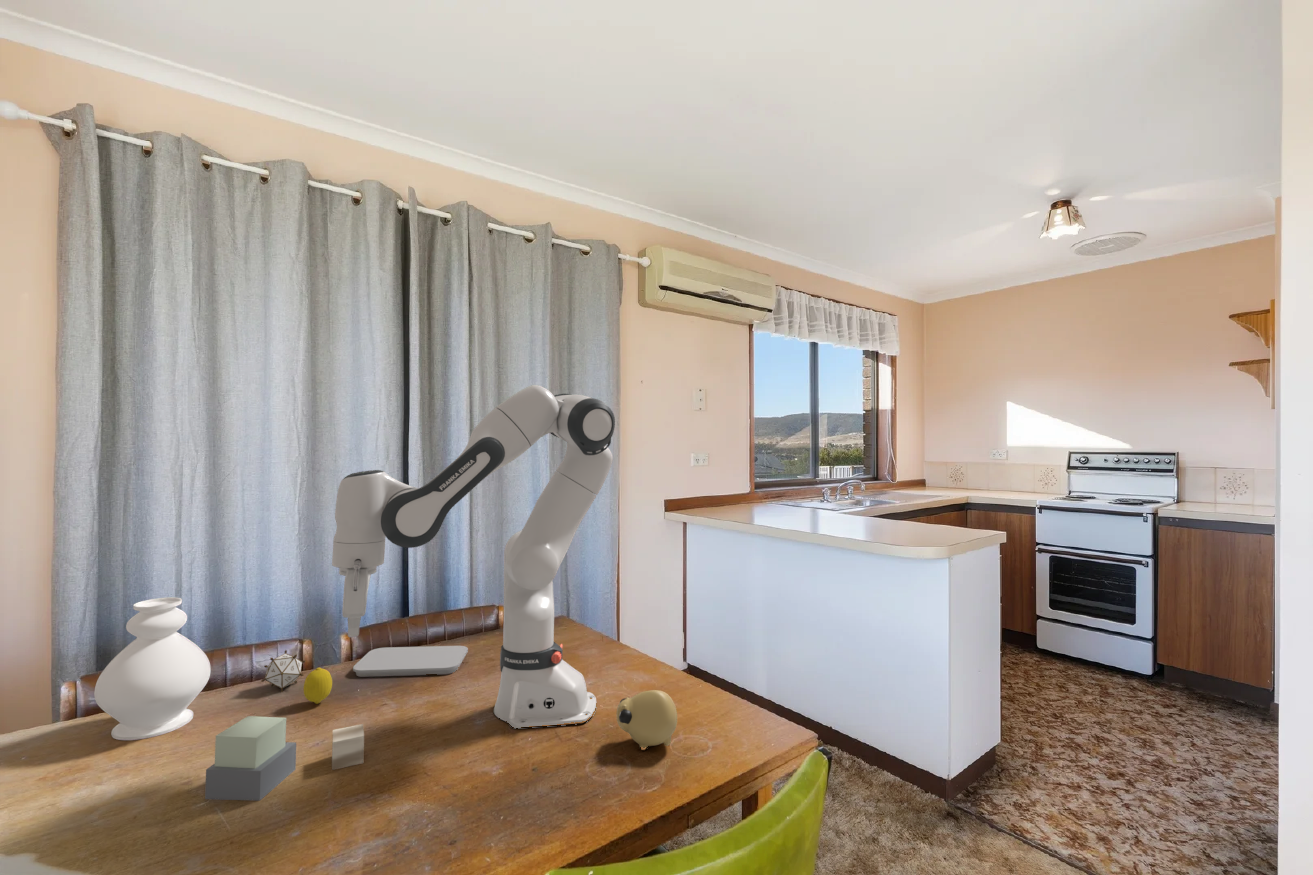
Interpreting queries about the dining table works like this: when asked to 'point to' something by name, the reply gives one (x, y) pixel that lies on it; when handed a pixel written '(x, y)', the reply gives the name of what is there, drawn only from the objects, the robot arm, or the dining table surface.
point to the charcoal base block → (250, 777)
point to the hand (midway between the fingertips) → (354, 628)
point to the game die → (283, 670)
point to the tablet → (410, 661)
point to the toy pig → (648, 717)
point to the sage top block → (250, 742)
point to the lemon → (317, 685)
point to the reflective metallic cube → (347, 746)
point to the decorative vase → (153, 674)
